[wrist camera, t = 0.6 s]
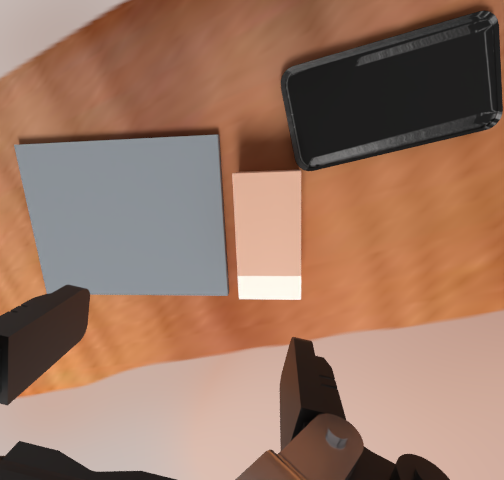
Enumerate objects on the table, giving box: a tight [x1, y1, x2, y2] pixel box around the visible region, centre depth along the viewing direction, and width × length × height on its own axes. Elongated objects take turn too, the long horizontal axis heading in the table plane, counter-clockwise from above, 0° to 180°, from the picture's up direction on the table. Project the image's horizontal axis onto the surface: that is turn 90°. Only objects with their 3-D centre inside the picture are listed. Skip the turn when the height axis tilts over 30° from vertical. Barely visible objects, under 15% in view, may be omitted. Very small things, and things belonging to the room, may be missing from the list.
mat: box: [14, 135, 229, 296], centre depth 28 cm, size 18×14×1 cm
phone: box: [281, 11, 503, 171], centre depth 23 cm, size 8×1×15 cm
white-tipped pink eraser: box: [232, 170, 301, 300], centre depth 25 cm, size 10×5×4 cm, turn 2°
